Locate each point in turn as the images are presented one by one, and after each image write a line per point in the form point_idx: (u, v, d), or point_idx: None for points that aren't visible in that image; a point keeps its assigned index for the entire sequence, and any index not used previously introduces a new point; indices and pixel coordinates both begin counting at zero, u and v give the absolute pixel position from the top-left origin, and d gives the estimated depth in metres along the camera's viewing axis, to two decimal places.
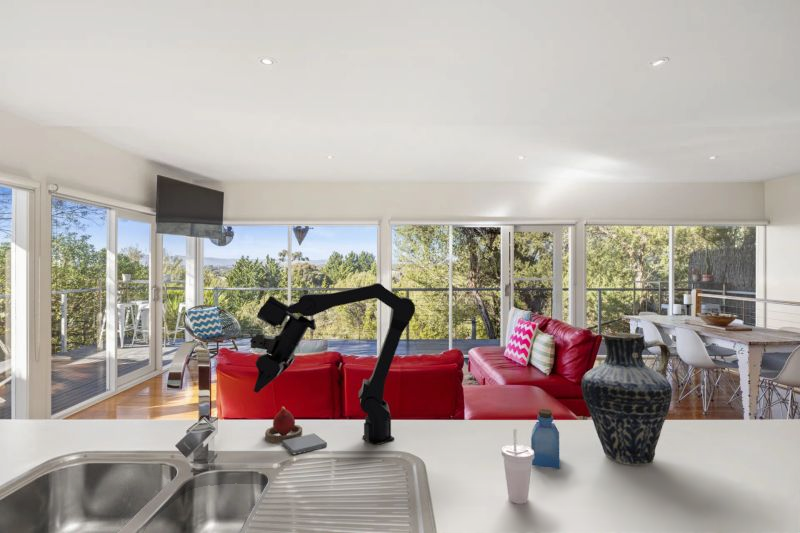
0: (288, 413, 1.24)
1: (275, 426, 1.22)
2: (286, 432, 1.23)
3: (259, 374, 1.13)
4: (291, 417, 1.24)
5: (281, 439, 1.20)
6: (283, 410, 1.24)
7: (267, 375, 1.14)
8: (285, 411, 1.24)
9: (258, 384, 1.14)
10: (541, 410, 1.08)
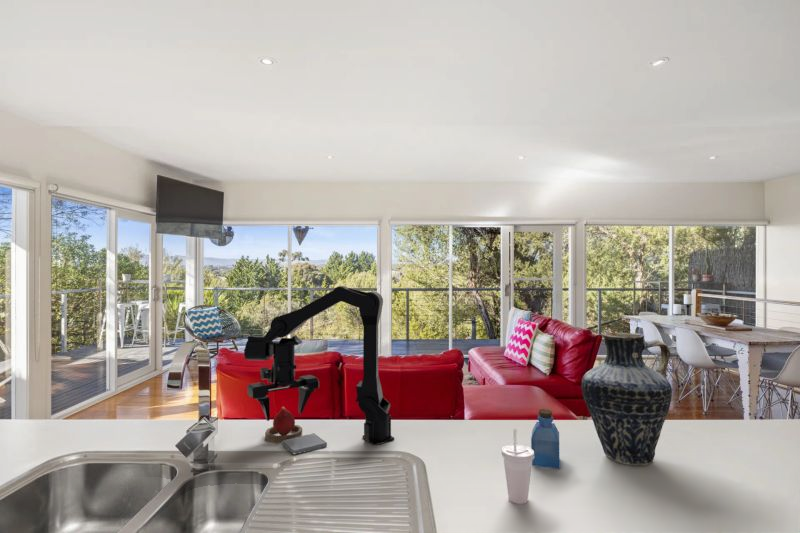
0: (288, 413, 1.24)
1: (275, 426, 1.22)
2: (286, 432, 1.23)
3: (260, 402, 1.22)
4: (291, 417, 1.24)
5: (281, 439, 1.20)
6: (283, 410, 1.24)
7: None
8: (285, 411, 1.24)
9: (265, 412, 1.22)
10: (541, 410, 1.08)
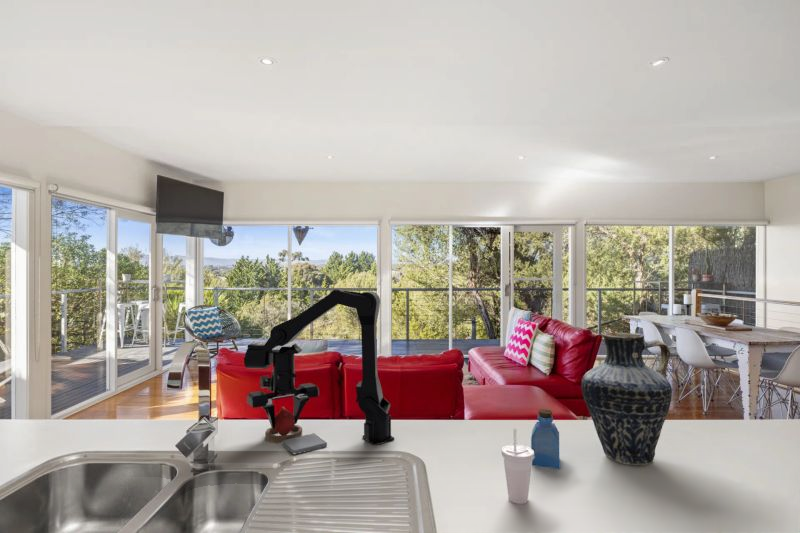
0: (288, 413, 1.24)
1: (275, 426, 1.22)
2: (286, 432, 1.23)
3: (265, 410, 1.23)
4: (291, 417, 1.24)
5: (281, 439, 1.20)
6: (283, 410, 1.24)
7: None
8: (285, 411, 1.24)
9: (270, 420, 1.23)
10: (541, 410, 1.08)
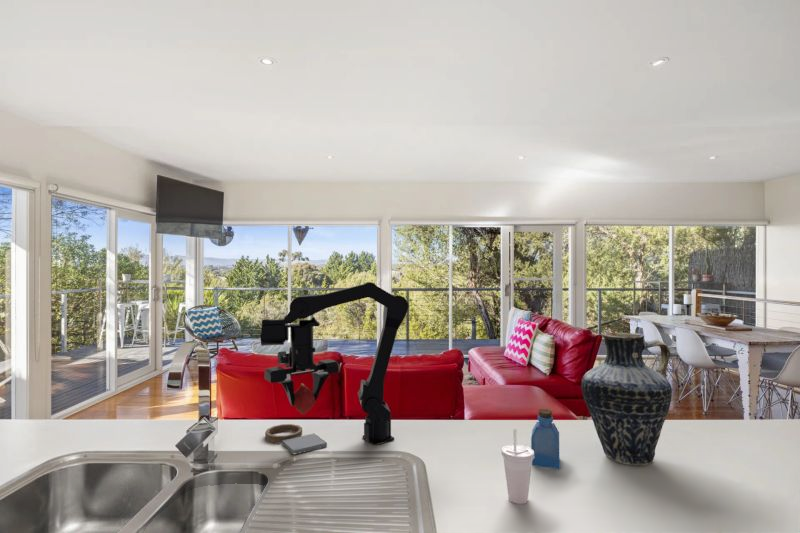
0: (308, 390, 1.18)
1: (294, 403, 1.16)
2: (306, 409, 1.17)
3: (284, 387, 1.17)
4: (311, 394, 1.18)
5: (281, 439, 1.20)
6: (302, 387, 1.18)
7: None
8: (304, 388, 1.18)
9: (289, 397, 1.17)
10: (541, 410, 1.08)
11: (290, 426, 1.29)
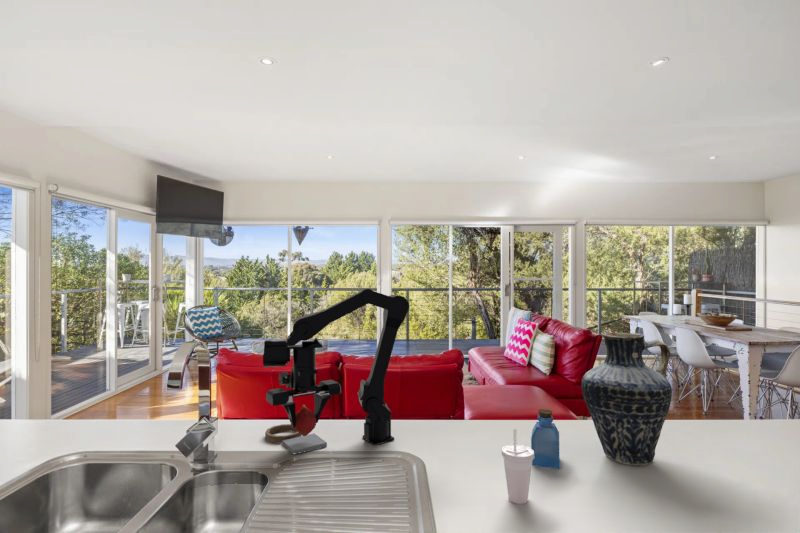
0: (309, 411, 1.17)
1: (296, 425, 1.16)
2: (307, 432, 1.16)
3: (285, 408, 1.16)
4: (312, 416, 1.17)
5: (281, 439, 1.20)
6: (304, 408, 1.17)
7: None
8: (306, 409, 1.17)
9: (290, 419, 1.16)
10: (541, 410, 1.08)
11: (290, 426, 1.29)
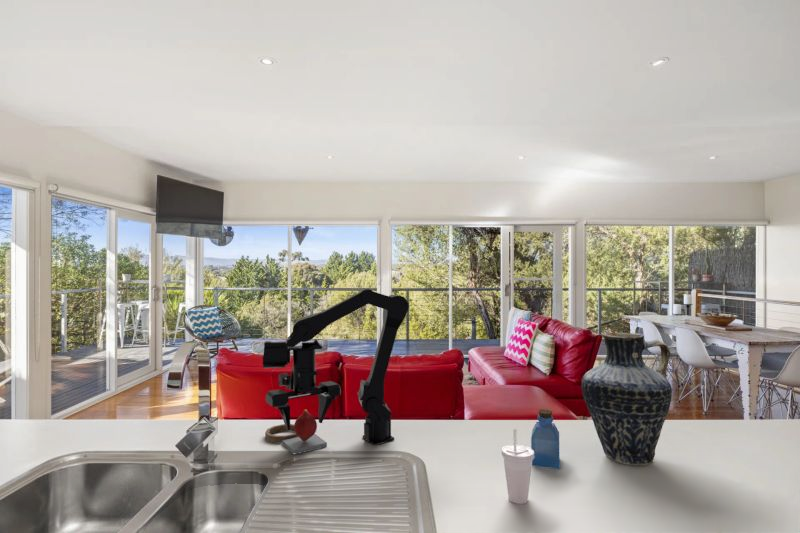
0: (310, 416, 1.18)
1: (296, 429, 1.16)
2: (307, 436, 1.16)
3: (280, 411, 1.15)
4: (313, 421, 1.18)
5: (281, 439, 1.20)
6: (305, 413, 1.18)
7: None
8: (307, 414, 1.18)
9: (285, 421, 1.15)
10: (541, 410, 1.08)
11: (290, 426, 1.29)
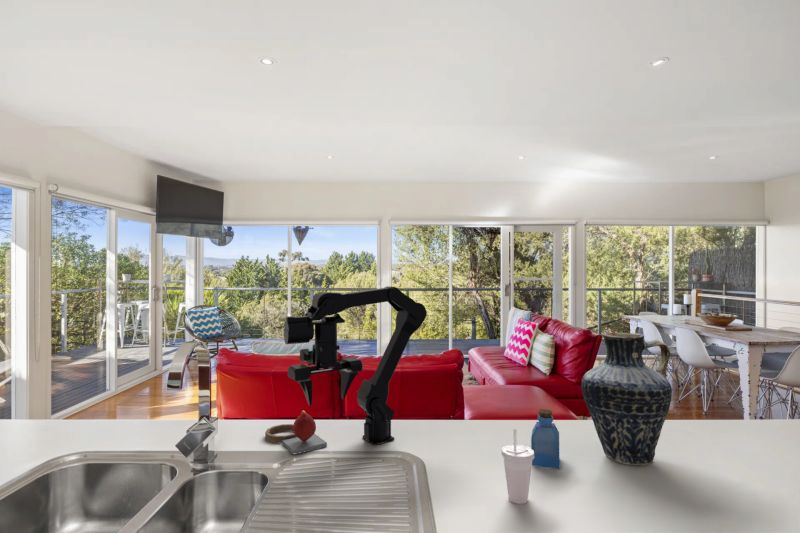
0: (309, 417, 1.17)
1: (295, 431, 1.16)
2: (307, 437, 1.16)
3: (301, 386, 1.13)
4: (312, 421, 1.17)
5: (281, 439, 1.20)
6: (303, 414, 1.17)
7: None
8: (306, 415, 1.17)
9: (307, 396, 1.13)
10: (541, 410, 1.08)
11: (290, 426, 1.29)
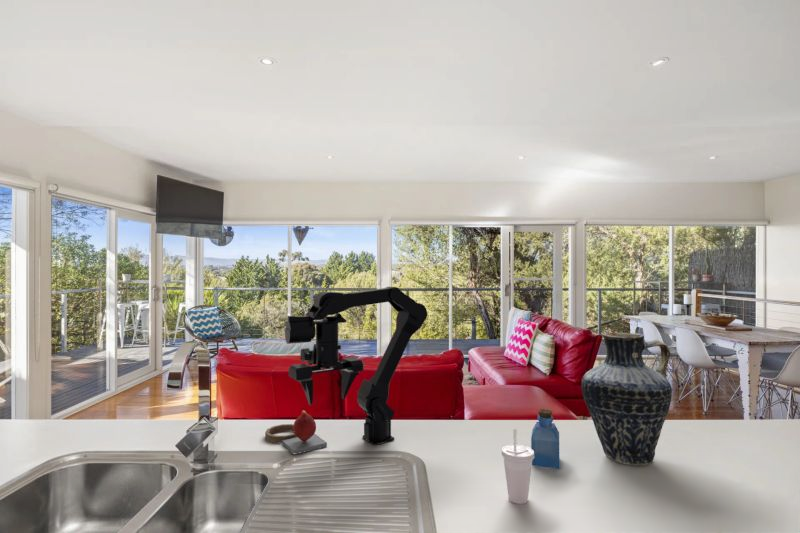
0: (309, 417, 1.17)
1: (295, 431, 1.16)
2: (307, 437, 1.16)
3: (302, 385, 1.13)
4: (312, 421, 1.17)
5: (281, 439, 1.20)
6: (304, 414, 1.17)
7: None
8: (306, 415, 1.17)
9: (307, 396, 1.13)
10: (541, 410, 1.08)
11: (290, 426, 1.29)
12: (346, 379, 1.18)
